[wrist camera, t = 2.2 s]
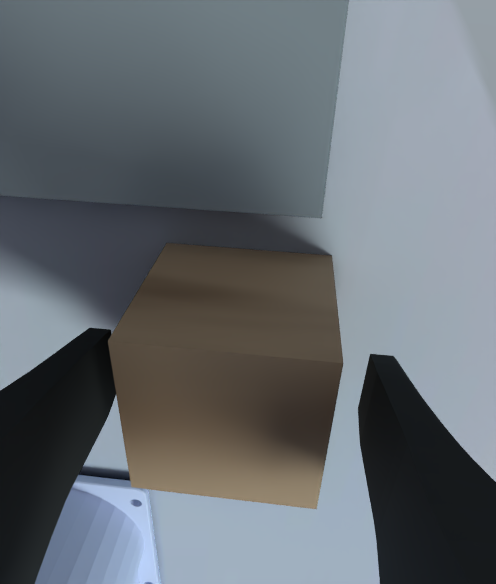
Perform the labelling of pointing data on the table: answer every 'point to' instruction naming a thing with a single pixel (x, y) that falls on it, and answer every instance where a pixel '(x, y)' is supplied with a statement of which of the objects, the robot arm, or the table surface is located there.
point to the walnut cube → (230, 374)
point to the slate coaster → (170, 102)
